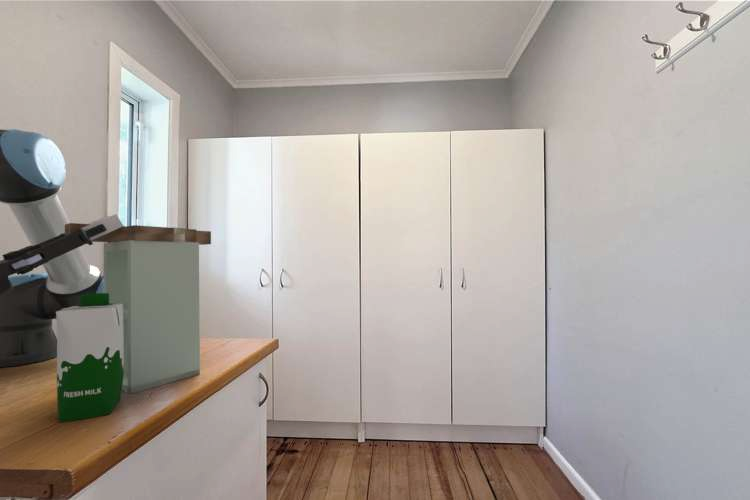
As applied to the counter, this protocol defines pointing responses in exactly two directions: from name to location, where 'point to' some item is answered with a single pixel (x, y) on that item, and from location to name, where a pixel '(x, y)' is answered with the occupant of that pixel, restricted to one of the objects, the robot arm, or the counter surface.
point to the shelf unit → (155, 309)
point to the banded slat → (160, 234)
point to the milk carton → (89, 358)
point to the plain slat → (121, 234)
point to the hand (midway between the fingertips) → (114, 221)
